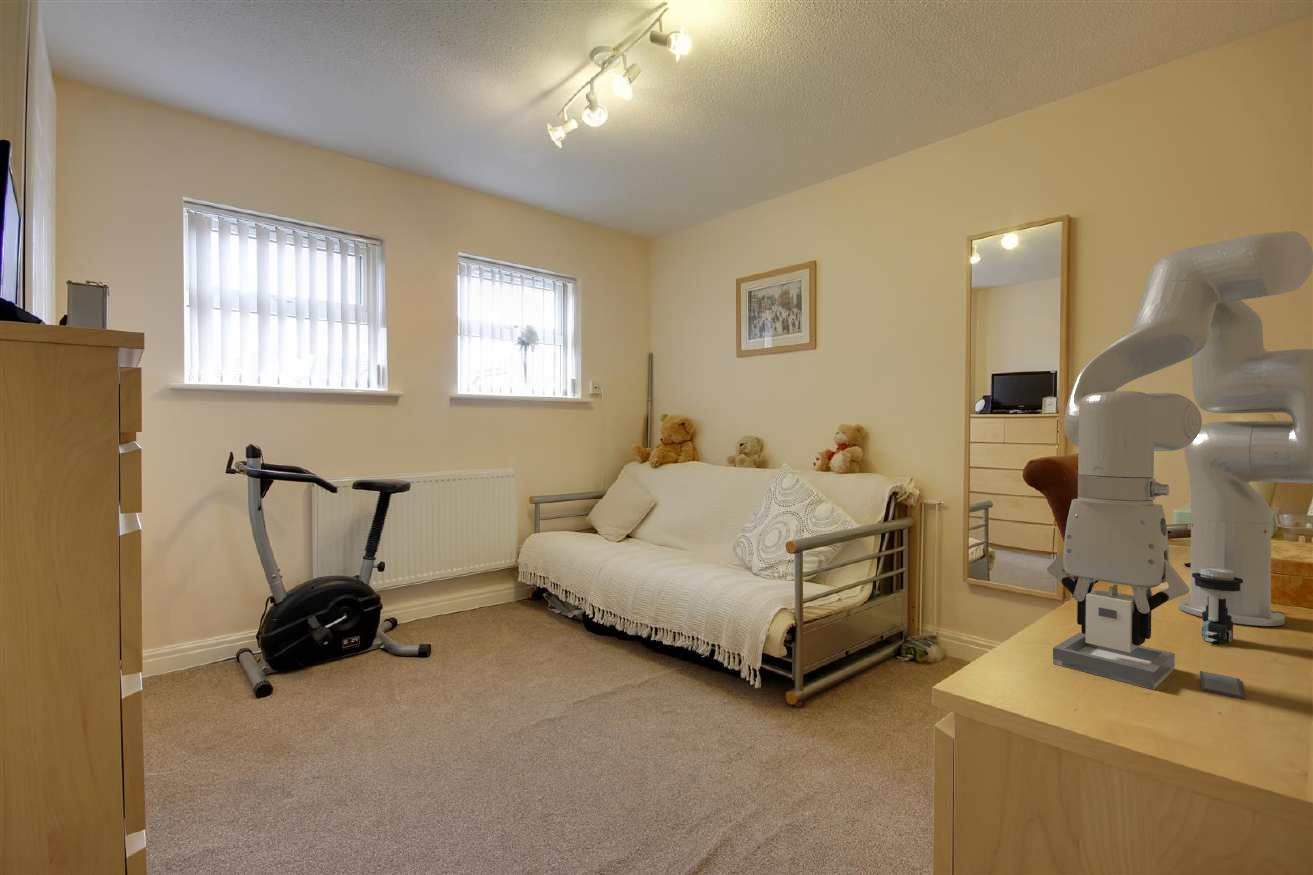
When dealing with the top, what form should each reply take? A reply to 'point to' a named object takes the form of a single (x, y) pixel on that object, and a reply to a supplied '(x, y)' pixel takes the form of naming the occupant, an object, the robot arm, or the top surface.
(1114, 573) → the robot arm
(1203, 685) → the phone
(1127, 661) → the dock
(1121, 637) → the charger
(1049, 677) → the top surface
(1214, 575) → the push button
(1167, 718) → the top surface
